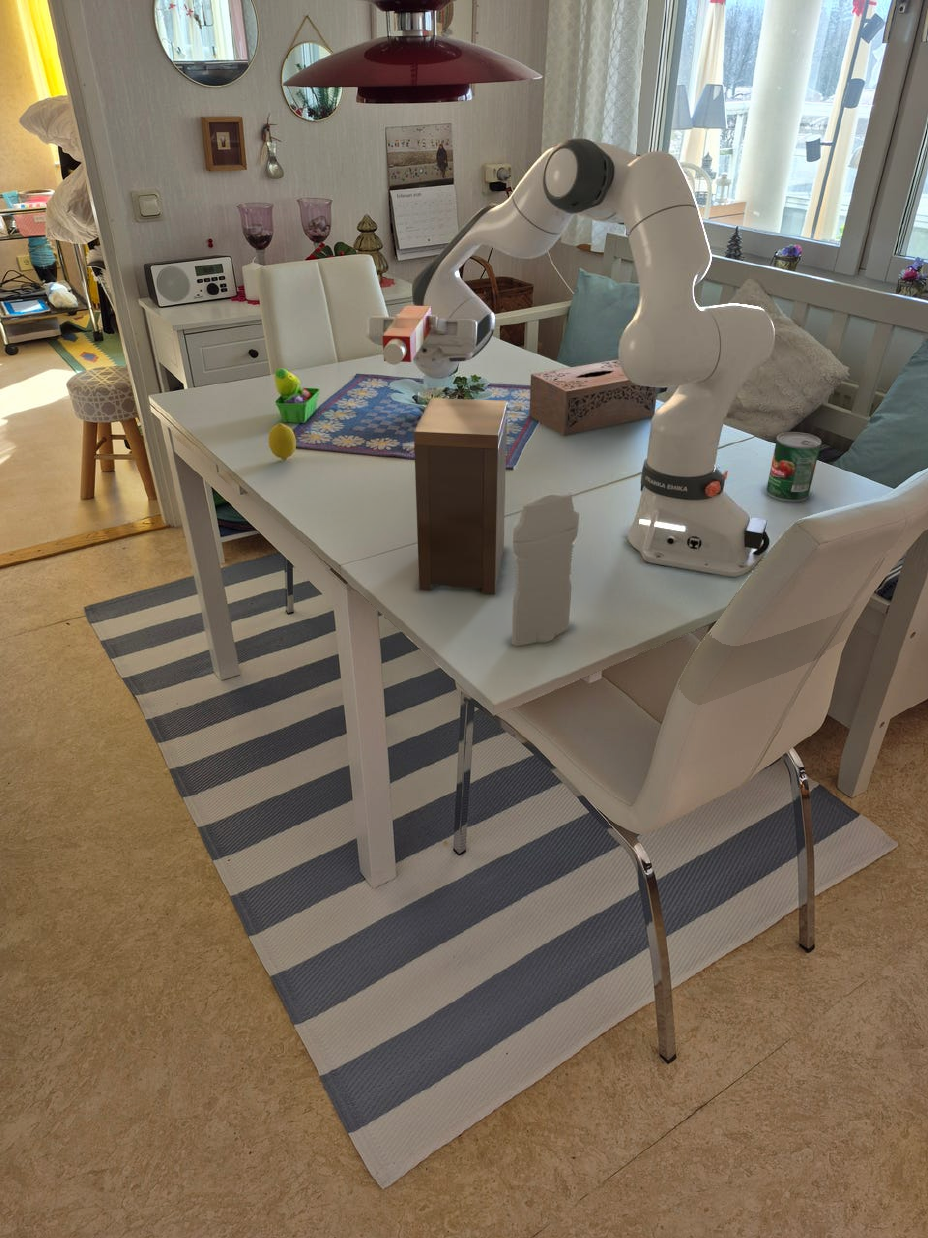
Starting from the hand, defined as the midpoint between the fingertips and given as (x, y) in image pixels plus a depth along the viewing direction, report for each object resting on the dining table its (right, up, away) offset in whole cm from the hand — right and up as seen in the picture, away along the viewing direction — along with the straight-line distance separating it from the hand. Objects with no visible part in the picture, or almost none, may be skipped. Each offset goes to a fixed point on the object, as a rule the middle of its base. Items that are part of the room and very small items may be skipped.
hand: (415, 319), depth 149 cm
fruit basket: (-31, -4, +55) cm, 63 cm away
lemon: (-29, -19, +32) cm, 47 cm away
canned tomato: (+71, -28, +17) cm, 78 cm away
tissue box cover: (+39, -4, +54) cm, 67 cm away
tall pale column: (+20, -54, -24) cm, 63 cm away
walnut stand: (+8, -44, -8) cm, 45 cm away
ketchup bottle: (-1, -6, -6) cm, 9 cm away
